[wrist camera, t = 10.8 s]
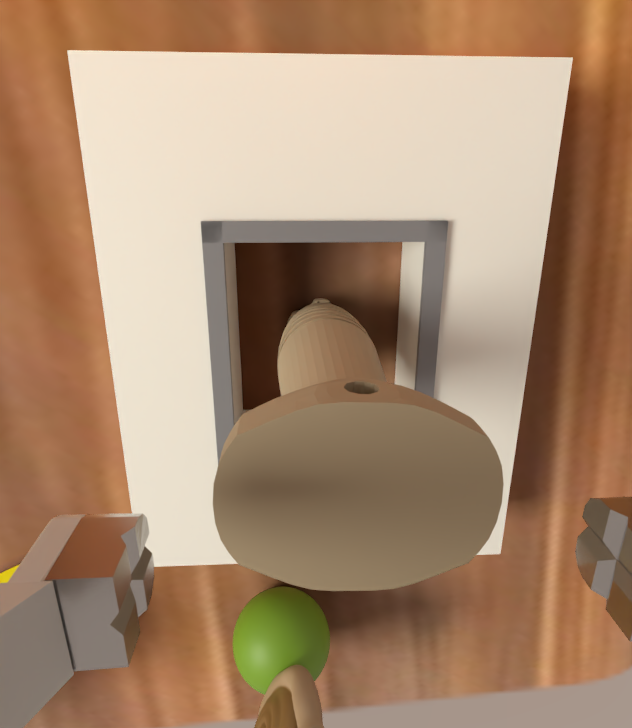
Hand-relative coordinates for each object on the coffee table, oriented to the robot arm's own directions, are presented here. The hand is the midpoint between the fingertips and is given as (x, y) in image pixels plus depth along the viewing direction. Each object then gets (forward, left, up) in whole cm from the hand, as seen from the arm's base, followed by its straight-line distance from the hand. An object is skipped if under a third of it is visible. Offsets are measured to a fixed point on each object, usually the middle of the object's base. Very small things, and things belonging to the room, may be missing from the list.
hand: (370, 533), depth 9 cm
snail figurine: (+17, -2, -17) cm, 24 cm away
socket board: (0, 0, -17) cm, 17 cm away
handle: (+1, 0, -17) cm, 17 cm away
